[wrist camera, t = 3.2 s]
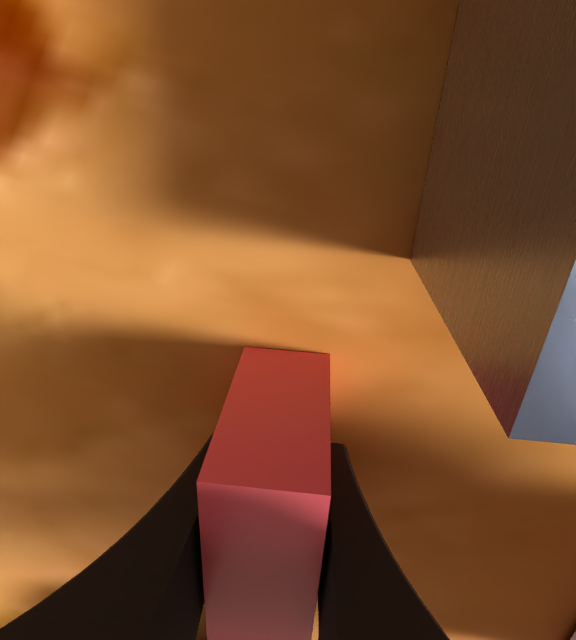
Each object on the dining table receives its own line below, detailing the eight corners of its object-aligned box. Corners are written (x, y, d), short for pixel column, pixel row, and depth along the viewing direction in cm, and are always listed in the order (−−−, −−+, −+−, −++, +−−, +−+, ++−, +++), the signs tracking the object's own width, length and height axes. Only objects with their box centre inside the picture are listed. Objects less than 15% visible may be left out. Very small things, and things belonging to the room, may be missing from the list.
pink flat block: (313, 499, 15) (307, 665, 10) (243, 491, 15) (207, 653, 10) (329, 354, 12) (331, 496, 8) (244, 346, 12) (196, 481, 8)
